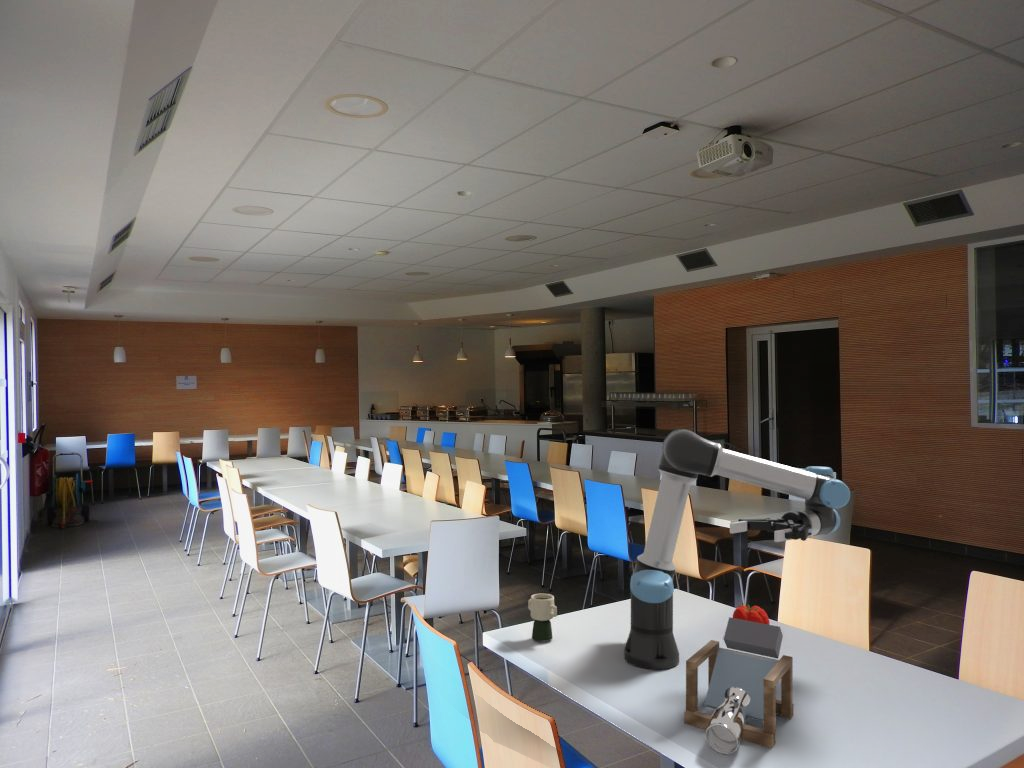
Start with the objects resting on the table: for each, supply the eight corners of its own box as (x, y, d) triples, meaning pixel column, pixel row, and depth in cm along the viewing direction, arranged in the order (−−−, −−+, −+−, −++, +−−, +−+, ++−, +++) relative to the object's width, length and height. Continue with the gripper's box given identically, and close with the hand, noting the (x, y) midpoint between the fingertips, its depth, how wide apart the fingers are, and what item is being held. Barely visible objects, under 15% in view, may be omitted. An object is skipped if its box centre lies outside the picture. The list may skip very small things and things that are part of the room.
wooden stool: (684, 723, 154) (684, 662, 155) (712, 693, 170) (712, 638, 170) (772, 748, 143) (772, 682, 144) (793, 714, 159) (793, 655, 159)
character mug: (563, 641, 206) (564, 597, 206) (548, 647, 201) (548, 602, 201) (536, 633, 213) (536, 590, 214) (520, 638, 208) (521, 595, 208)
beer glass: (715, 688, 155) (698, 727, 143) (743, 680, 152) (727, 719, 139) (732, 717, 154) (715, 758, 142) (760, 709, 151) (745, 751, 138)
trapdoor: (787, 636, 165) (784, 627, 162) (769, 726, 151) (766, 717, 149) (728, 625, 173) (725, 616, 170) (706, 709, 159) (702, 700, 157)
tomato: (730, 637, 211) (730, 609, 211) (737, 627, 220) (737, 600, 220) (766, 644, 206) (766, 614, 206) (772, 633, 215) (772, 605, 215)
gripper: (842, 545, 182) (796, 555, 170) (760, 530, 203) (713, 538, 190) (842, 517, 182) (796, 525, 170) (760, 505, 203) (713, 511, 191)
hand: (752, 532), depth 180 cm, fingers open, 13 cm apart
